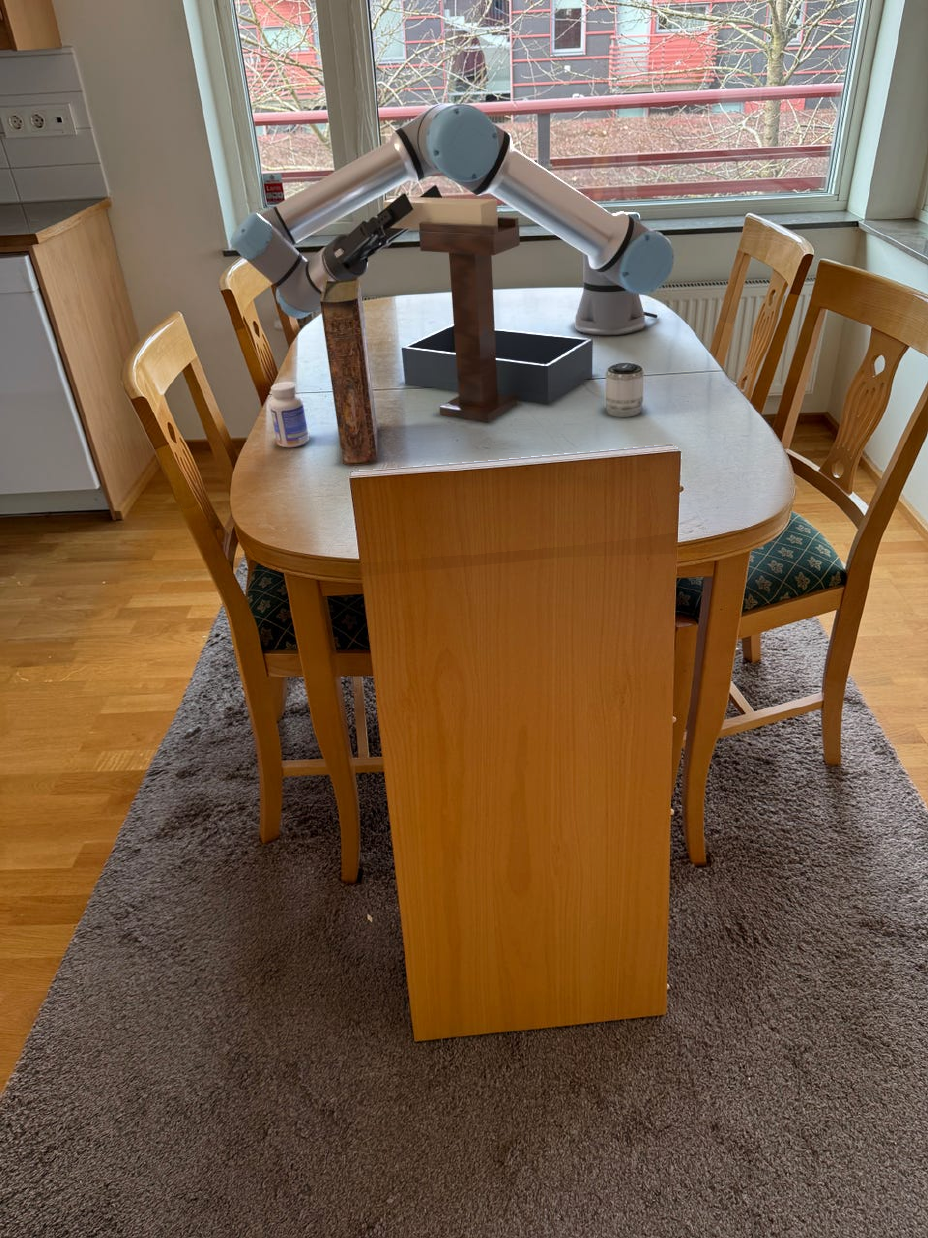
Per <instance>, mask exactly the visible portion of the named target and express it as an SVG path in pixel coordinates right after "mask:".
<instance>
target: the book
mask: <svg viewBox="0 0 928 1238" xmlns="http://www.w3.org/2000/svg"><path fill="white" fill-rule="evenodd" d="M320 305H321V307H320V312H321V320H322V326H323V332H324V333H323V334H324V341H325V346H326V347H325V348H326V354H327V360H328V369H329V374H330V383H331V389H332V395H333V403H334V411H335V417H336V424H337V425H336V426H337V432H338V439H339V447H340V453H341V461H342V464H343V465H345V466H364V465H370V464H373V463H376V462H377V461H378V424H377V423H378V422H377V414H376V407H375V398H374V397H375V396H374V390H373V380H372V371H371V362H370V356H369V345H368V337H367V328H366V321H365V312H364V303H363V294H362V287H361V279H360V277H357V279H354V280H348V281H327V280H324V285H323V290H322V294H321V299H320Z"/></svg>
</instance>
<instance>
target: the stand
mask: <svg viewBox="0 0 928 1238" xmlns="http://www.w3.org/2000/svg"><path fill="white" fill-rule="evenodd" d="M497 217H498V227H497V225H480V224H456V223H433V222H421V223H419V229H418V230H419V231H418V235H419V248H420V249H419V250H420V252H429V253H445V254H448V257H449V258H448V260H449V274H450V275H449V276H450V289H451V291H450V292H451V305H452V318H453V319H452V320H453V324H454V335H455V350H456V365H457V379H458V392H457V393H458V396H456V397H455V398H453V399H451V400H449V401H447V402H445V403H444V404H442V405H440V406H439V415H440V416H445V417H451V418H457V419H462V420H469V421H473V422H474V421H475V422H481V423H486V424H489V423H491V422H493V420H495V419H497V418H498V417H500V416H502V415H503V414H505V413H507V412H508V411H510V410H511V409H513V408H514V407H516V406H518V401H517V396H510V395H504V394H498V390H497V368H496V345H495V329H496V328H495V327H496V325H495V304H494V301H495V300H494V283H493V280H494V279H493V262H492V261H493V259H492V256H496V255H499V254H501V253H504V252H506V251H509V250H512V249H515V248H517V247H519V246H520V245H521V242H520V238H521V237H520V224H519V217H513V216H512V217H510V216H509V217H508V216H497Z"/></svg>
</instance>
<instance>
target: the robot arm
mask: <svg viewBox="0 0 928 1238" xmlns="http://www.w3.org/2000/svg"><path fill="white" fill-rule="evenodd" d="M436 174H441V175H442V176H444V177H446V179H447V178H448V179H449V180H451V181H453V182H455V183H456V184H458V185H459V186H461V187H463V188H464V189H466V190H468V191H469V192H470V193H472V194H474V195H475V196H476V197H480V196H483V195H485V194H489V195H492V196H493V197H495V198H497V199H498V200H500V201H501V202H503V203H504V204H506V205H507V206H509V207H511V208H512V209H513V210H516V211H517V212H518V213H520V214H521V215H523V216H524V217H527V218H528V219H530V220H531V221H533V222H534V223H536V224H538V225H539V226H541V227H542V228H544V229H545V230H547V231H548V232H549V233H551V234H552V235H555V236H556V237H558V238H560V239H561V240H563V241H564V242H565V243H567V244H569V245H570V246H572V247H573V248H575V249H576V250H578V251H580V252H581V253H583V257H582V258H583V259H582V263H583V264H582V265H583V267H582V268H583V269H582V271H583V272H582V273H583V274H582V279H583V280H582V281H583V283H582V286H583V288H582V290H583V291H582V294H581V298H580V301H579V303H578V307H577V311H576V314H575V317H574V329H576V331H578V332H580V333H582V334H587V335H594V336H617V335H625V334H633V333H635V332H638V331H640V330H642V329H644V327H645V326H646V317H649V318H653V319H657V318H658V314H655V313H651V312H648V311H644V307H643V305H642V301H641V297H640V296H642V295H643V296H644V295H649V294H651V293H654V292H656V291H657V290H659V289H660V288H661V287H662V286H663V285H664V284H665V283H666V282H667V281H668V279H669V277H670V275H671V273H672V271H673V267H674V264H675V263H674V262H675V254H674V253H675V251H674V247H673V245H672V243H671V241H670V240H669V239H668V238H667V237H666V236H665V235H664V234H663V233H662V232H660V231H656V230H652V229H650V228H649V227H648V226H646V225H644V224H643V223H642V221H641V217H640V214H639V212H624V211H619V212H616V213H611V212H610V211H608V210H607V209H606V208H604V207H602V206H601V205H599V204H598V203H596V202H595V201H593V199H592V200H591V199H590V198H589V197H587V196H586V195H584V194H583V193H581V192H580V191H578V190H577V189H576V188H574V187H573V186H571V185H569V184H568V183H566V182H565V181H564V180H562V179H560V178H559V177H557V176H556V175H555V174H553V173H552V172H550V171H549V170H548V169H546V168H544V167H543V166H541V165H540V164H538V163H537V162H535V161H534V160H533V159H531V158H529V157H528V156H526V155H525V154H524V153H522V152H521V151H519V150H518V149H516V148H515V147H514V145H513V139H512V135H511V134H510V133H508V132H507V131H506V130H504V129H503V128H501V127H500V126H498V125H497V124H495V123H494V122H493V121H492V120H491V118H490V117H489V116H488V114H486V113H485V112H484V111H483V110H482V109H479V108H478V107H476V106H474V105H470V104H464V103H453V102H441V103H437V104H435V105H432V106H431V107H429V108H427V109H426V110H424V111H423V112H422V113H420V114H419V115H417V116H416V117H414V118H413V119H411V120H410V121H409V122H407V123H406V124H404V125H402V126H401V127H399V128H397V129H396V130H393V131H392V133H391V136H390V139H389V141H386V142H385V143H383V144H381V145H379V146H378V147H376V148H374V149H372V150H371V151H369V152H367V153H366V154H363V155H362V156H360V157H359V158H357V159H355V160H353V161H352V162H350V163H348V164H346V165H344V166H343V167H341V168H339V169H337V170H336V171H334V172H332V173H329V174H328V175H327V176H325V177H324V178H322V179H320V180H318V181H316V182H314V183H313V184H311V185H309V186H307V187H306V188H304V189H302V190H300V191H298V192H297V193H295V194H294V195H292V196H290V197H288V198H287V199H285V200H283V201H281V202H279V203H277V204H276V205H275V206H273V207H271V208H268V209H267V210H265V211H264V212H262V213H258V212H252V213H250V214H249V215H247V216H245V218H244V219H243V220H242V221H241V222H240V224H239V225H238V226H237V228H236V229H235V231H234V232H233V233H232V236H231V237H230V241H229V242H230V244H231V247H232V248H233V249H234V250H235V251H236V252H238V254H239V255H240V256H241V258H242V259H243V260H245V261H247V262H248V263H249V264H250V265H251V266H252V267H254V269H256V271H258V272H259V273H260V274H262V275H263V276H264V278H266V279H267V280H268V281H269V282H270V283H271V284H272V285H273V286H274V287H275V288H276V291H275V298H276V302H277V304H279V306H280V309H281V310H282V312H284V314H286V315H287V316H289V317H291V318H293V319H300V320H301V319H304V318H306V317H308V316H310V315H311V314H312V313H316V312H317V311H318V310H319V309H321V305H320V299H321V294H322V290H323V285H324V280H327V281H348V280H354V279H357V277H359V278H360V277H363V275H365V274H366V272H367V270H368V267H369V258H372V257H373V256H375V255H377V253H378V252H379V251H380V250H382V249H387V248H388V247H389V246H390V245H391V244H392V243H394V242H395V241H396V240H397V239H399V238H401V237H402V236H403V235H404V234H406V233H407V232H410V230H411V229H404V228H391V227H392V226H393V225H395V224H396V223H397V222H398V221H400V220H401V219H402V218H403V217H405V216H406V215H407V214H409V213H410V212H411V211H412V210H414V209H413V207H412V205H411V203H410V201H409V199H408V197H409V196H408V195H407V193H405V192H404V193H402V194H401V195H399V196H398V197H396V198H397V199H396V200H395V201H393V202H392V203H391V204H390V205H388V206H387V207H386V208H385V209H384V210H383V209H382V210H380V212H379V213H377V214H376V216H372V217H371V218H369V220H368V221H367V220H363V221H361V222H360V223H359V224H358V225H357V226H356V227H355V228H354V229H353V230H352V231H351V232H350V233H349V234H339V235H338V236H336V237H335V238H334V239H333V240H331V241H330V242H329V243H328V244H327V245H326V246H324V247H323V248H321V249H320V250H319V251H318V252H316V253H315V254H314V255H313V256H312V257H311V258H309V260H308V259H307V258H305V256H303V254H301V252H299V251H298V250H297V249H296V247H294V245H296V244H298V243H299V242H301V241H303V240H304V239H306V238H308V237H310V236H312V235H314V234H315V233H318V232H319V231H320V230H321V231H322V230H323V229H324V228H326V227H329V226H330V225H332V224H333V223H335V222H337V221H339V220H340V219H342V218H344V217H345V216H348V215H349V214H351V213H353V212H355V211H356V210H358V209H360V208H362V207H364V206H365V205H367V204H368V203H370V202H372V201H374V200H376V199H378V198H380V197H381V196H383V195H385V194H386V193H388V192H390V191H392V190H394V189H396V188H397V187H399V186H401V185H403V184H404V183H406V182H408V181H411V182H414V183H418V182H420V181H421V180H423V179H425V178H427V177H430V176H433V175H436ZM419 197H423V198H443V195H442V194H441V191H440V189H439V188H438V185H436V184H435V185H432V186H431V187H430V188H428V189H427V190H426V191H425V192H424V193H423V194H421V195H420V196H419Z"/></svg>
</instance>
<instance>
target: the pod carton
mask: <svg viewBox="0 0 928 1238" xmlns="http://www.w3.org/2000/svg"><path fill="white" fill-rule="evenodd" d="M407 197H408V199H409V201H410V203H411V205H412V207H413V209H414V210H412V211H411V212H410V213H409V214H407V215H406V216H405V217H403V218H402V219H401V220H400V221H398V222H397V223H396V224H395V225H393V226H392V227H391V228H404V229H410V230H420V229H419V223H421V222H433V223H456V224H480V225H497V227H498V217H499V216H498V200H497V199H498V198H497V199H496V198H493V199H492V198H462V197H461V198H457V197H450V198H449V197H442V198H423V197H420V196H417V197H416V196H407ZM397 198H398V197H395V198H391V199H390V198H389V199H387V200H383V201H382V210H384V209H385V208H386V207H387V206H388V205H390V204H391V203H392V202H393V201H395V200H396V199H397Z"/></svg>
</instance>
